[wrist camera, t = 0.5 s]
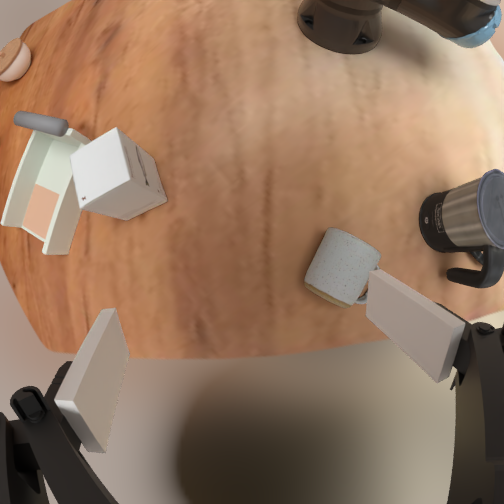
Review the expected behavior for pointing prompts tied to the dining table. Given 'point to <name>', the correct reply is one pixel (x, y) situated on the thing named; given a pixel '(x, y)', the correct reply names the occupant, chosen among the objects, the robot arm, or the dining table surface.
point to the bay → (46, 183)
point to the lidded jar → (14, 60)
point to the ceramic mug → (341, 268)
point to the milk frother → (469, 227)
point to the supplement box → (116, 177)
